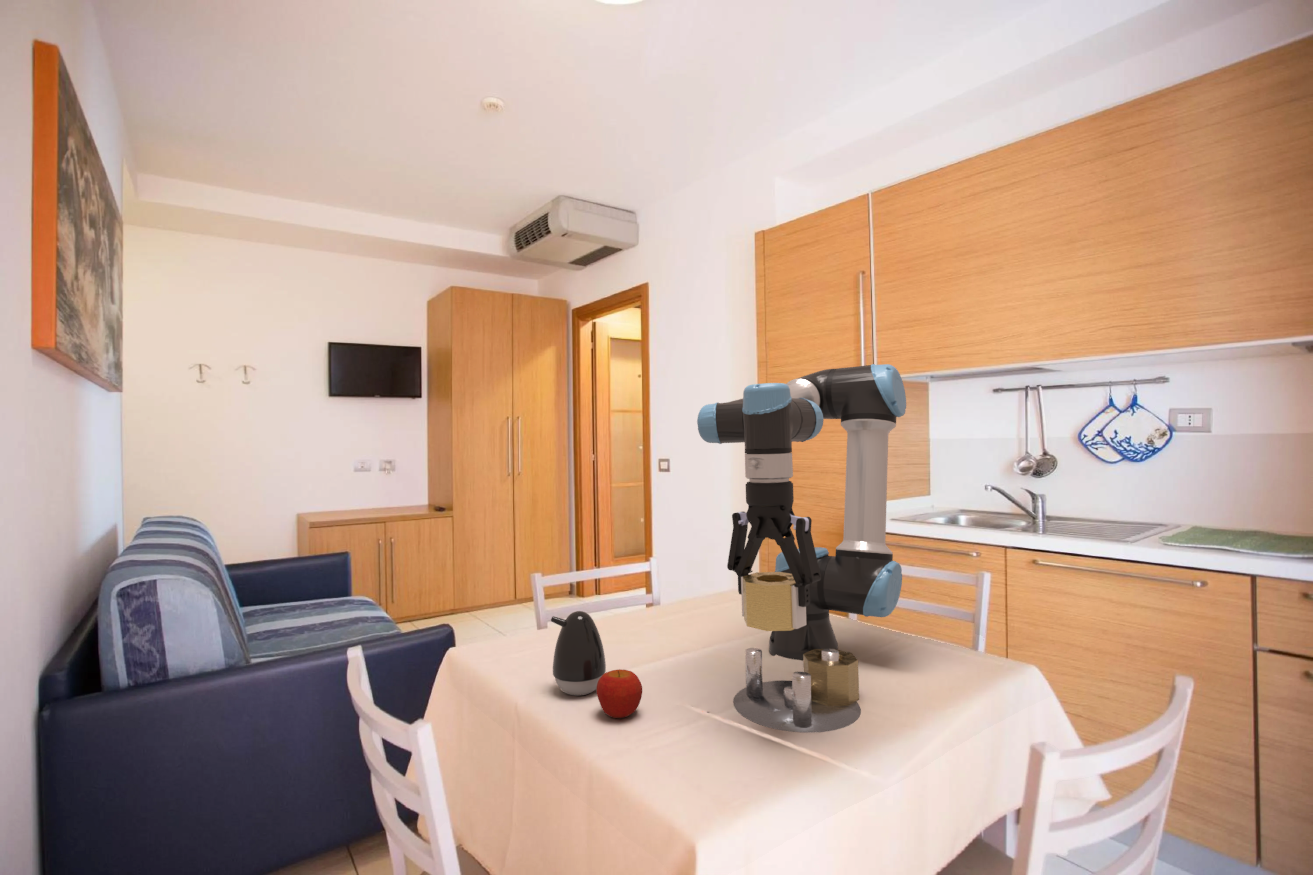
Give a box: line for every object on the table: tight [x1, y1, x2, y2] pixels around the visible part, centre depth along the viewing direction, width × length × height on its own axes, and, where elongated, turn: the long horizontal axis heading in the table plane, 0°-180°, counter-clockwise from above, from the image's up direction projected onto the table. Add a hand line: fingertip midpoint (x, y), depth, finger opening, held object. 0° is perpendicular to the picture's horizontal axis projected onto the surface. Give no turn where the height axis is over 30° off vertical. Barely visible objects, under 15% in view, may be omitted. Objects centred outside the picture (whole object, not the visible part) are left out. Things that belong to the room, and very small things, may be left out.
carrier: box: [732, 647, 862, 734], centre depth 110 cm, size 22×22×9 cm
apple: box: [596, 668, 643, 719], centre depth 108 cm, size 8×8×8 cm
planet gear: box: [743, 571, 796, 632], centre depth 99 cm, size 9×9×7 cm
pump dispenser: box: [550, 610, 607, 697], centre depth 119 cm, size 10×10×15 cm
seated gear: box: [802, 649, 860, 706], centre depth 113 cm, size 9×9×7 cm
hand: (773, 620), depth 99 cm, fingers closed on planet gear, 9 cm apart
